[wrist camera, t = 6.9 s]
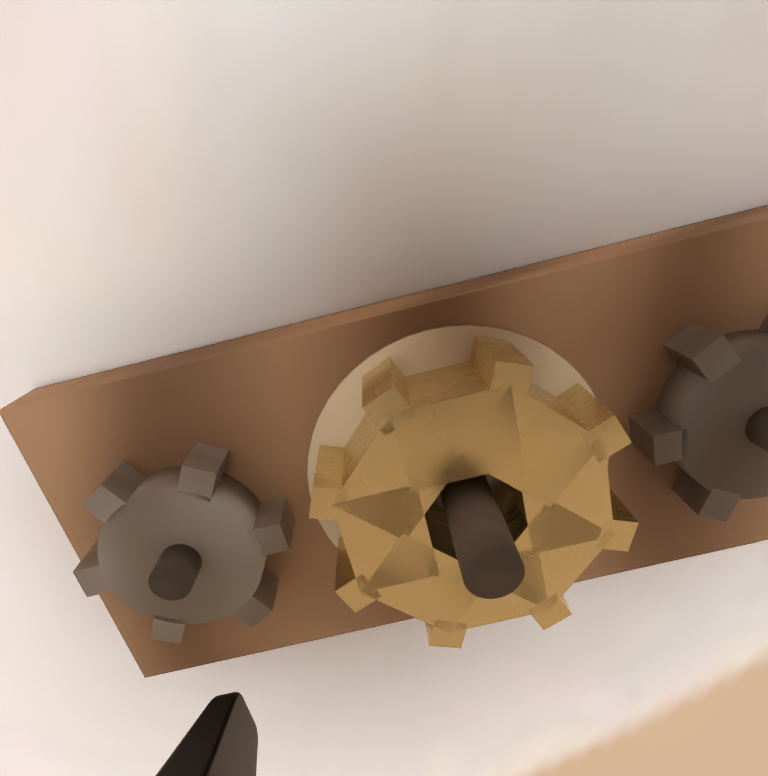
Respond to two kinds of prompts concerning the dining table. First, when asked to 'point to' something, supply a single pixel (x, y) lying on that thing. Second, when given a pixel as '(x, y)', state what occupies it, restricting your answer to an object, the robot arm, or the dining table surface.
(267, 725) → the dining table surface
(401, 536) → the wooden gear
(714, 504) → the gear board
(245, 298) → the dining table surface
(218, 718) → the robot arm
